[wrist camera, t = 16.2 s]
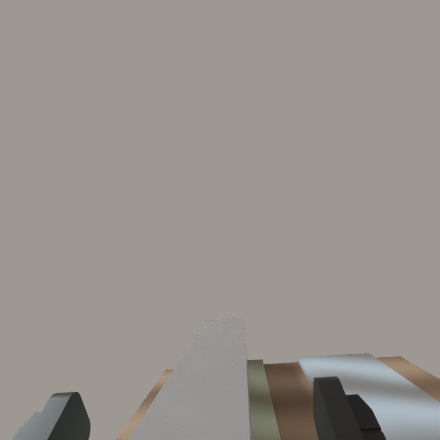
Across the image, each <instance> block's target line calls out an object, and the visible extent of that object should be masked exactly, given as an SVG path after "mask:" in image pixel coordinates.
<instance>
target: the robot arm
mask: <svg viewBox="0 0 440 440" xmlns="http://www.w3.org/2000/svg"><path fill="white" fill-rule="evenodd" d="M313 416H314V422H315V427H316V431H317V435H318V438H319V440H387V439H386V437H385V435H384V433H383V432H382V431H381V427H380V425H379V423H378V421H377V419H376V417H375V414H374V412H373V410H372V409H371V408H370V407H369V406H368V405H367V403H366V402H365V401H364V400H363V399H362V398H361V397H360V396H359V395H358V394H352V395H346V394H345V392H344V389H343V387H342V384H341V382H340V380H339V378H338V377H337V376H332V377H315V378H314V380H313ZM89 435H90V420H89V418H88V415H87V412H86V410H85V407H84V404H83V401H82V399H81V396H80V394H79V393H78V392H69V393H55V394H53V395H52V396H51V397H50V398H49V400H48V401H47V403H46V405H45V406H44V408H43V410H42V412H36V413H35V414H33V416H32V417H31V418H30V419H29V420H28V421H27V422H26V423H25V424H24V425H23V426H22V427H21V428H20V429H19V430H18V432H17V433H16V435H15V436H14V438H13V440H88V439H89Z"/></svg>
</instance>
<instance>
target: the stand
mask: <svg viewBox="0 0 440 440" xmlns="http://www.w3.org/2000/svg"><path fill="white" fill-rule="evenodd" d="M247 361H248V375H249V390H250V405H251V420H252V434H253V440H319V438H318V435H317V431H316V427H315V422H314V416H313V380H314V378H315V377H332V376H337V377H338V378H339V380H340V382H341V384H342V387H343V389H344V392H345V394H346V395H352V394H358V395H359V396H360V397H361V398H362V399H363V400H364V401H365V402H366V403H367V405H368V406H369V407H370V408H371V409H372V410H373V412H374V414H375V417H376V419H377V421H378V423H379V425H380V427H381V431H382V432H383V433H384V435H385V437H386V439H387V440H440V379H438V378H437V377H435V376H433V375H431V374H430V373H428V372H426V371H424V370H422V369H421V368H419V367H417V366H415V365H414V364H412V363H410V362H409V361H407V360H405V359H403V358H402V357H400V356H399V357H382V358H375V357H373V356H372V355H370V354H369V353H364V354H347V355H330V356H314V357H298V362H296V363H278V364H263V360H247ZM172 371H173V370H166V371H165V372H164V374H163V375H162V376H161V378H160V379H159V381H158V382H157V383H156V385H155V386H154V388H153V389H152V390H151V392H150V393H149V395H148V396H147V397H146V399H145V400H144V402H143V403H142V404H141V406H140V407H139V409H138V410H137V411H136V413H135V414H134V416H133V417H132V418H131V420H130V421H129V423H128V424H127V425H126V427H125V428H124V430H123V431H122V432H121V434H120V435H119V437H118V438H117V439H116V440H128V439H129V437H130V436H131V434H132V433H133V431H134V430H135V428H136V427H137V425H138V424H139V422H140V420H141V419H142V417H143V416H144V414H145V413H146V411H147V410H148V408H149V407H150V405H151V403H152V402H153V400H154V399H155V397H156V396H157V394H158V393H159V391H160V390H161V388H162V386H163V385H164V383H165V382H166V380H167V379H168V377H169V376H170V374H171V373H172Z"/></svg>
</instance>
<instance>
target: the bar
mask: <svg viewBox="0 0 440 440" xmlns="http://www.w3.org/2000/svg"><path fill="white" fill-rule="evenodd" d="M246 349H247V348H246V338H245V325H244V318H232V319H218V320H205V322H204V323H203V325H202V326H201V328H200V329H199V331H198V333H197V334H196V336H195V337H194V339H193V340H192V342H191V343H190V345H189V346H188V348H187V350H186V351H185V353H184V354H183V356H182V357H181V359H180V360H179V362H178V363H177V365H176V367H175V368H174V370H173V371H172V373H171V374H170V376H169V377H168V379H167V380H166V382H165V383H164V385H163V386H162V388H161V390H160V391H159V393H158V394H157V396H156V397H155V399H154V400H153V402H152V403H151V405H150V407H149V408H148V410H147V411H146V413H145V414H144V416H143V417H142V419H141V420H140V422H139V424H138V425H137V427H136V428H135V430H134V431H133V433H132V434H131V436H130V437H129V439H128V440H253V434H252V420H251V405H250V390H249V375H248V361H247V350H246Z"/></svg>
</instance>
